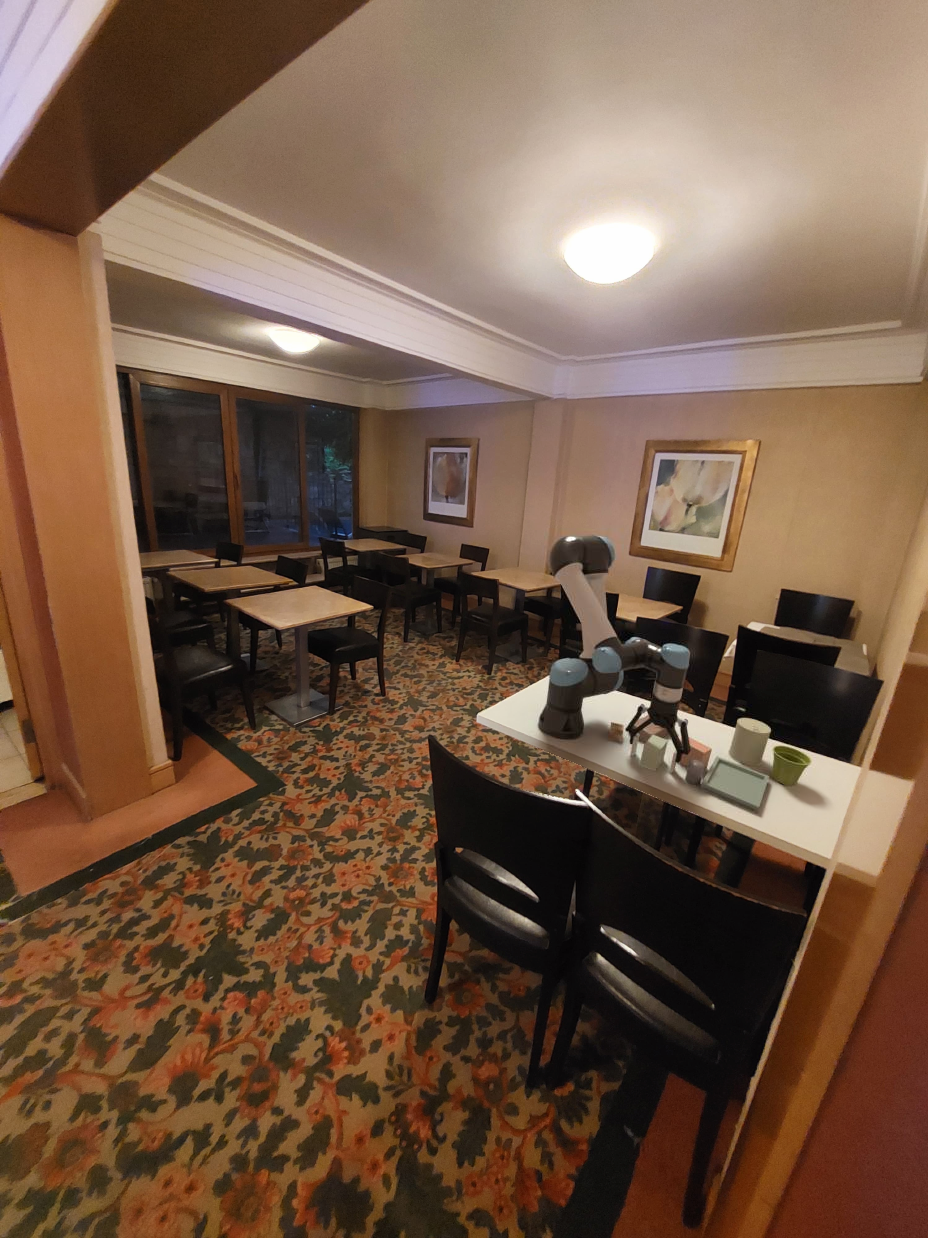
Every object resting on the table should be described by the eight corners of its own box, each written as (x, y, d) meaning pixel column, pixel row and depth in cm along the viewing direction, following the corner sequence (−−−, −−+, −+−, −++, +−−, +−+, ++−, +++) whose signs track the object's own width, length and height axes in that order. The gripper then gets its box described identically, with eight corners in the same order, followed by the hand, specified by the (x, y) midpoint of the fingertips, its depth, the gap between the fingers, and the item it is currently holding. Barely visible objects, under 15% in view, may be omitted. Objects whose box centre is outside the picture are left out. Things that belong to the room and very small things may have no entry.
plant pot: (788, 770, 141) (796, 746, 139) (810, 791, 132) (819, 765, 130) (758, 769, 141) (765, 744, 138) (778, 789, 132) (787, 763, 129)
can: (731, 761, 144) (740, 727, 141) (726, 746, 153) (735, 713, 149) (764, 769, 141) (775, 734, 138) (757, 753, 150) (767, 720, 146)
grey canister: (683, 781, 133) (687, 763, 131) (687, 775, 136) (691, 758, 134) (698, 788, 130) (703, 770, 128) (701, 781, 133) (706, 763, 131)
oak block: (608, 738, 152) (610, 727, 151) (609, 732, 156) (611, 722, 155) (621, 741, 151) (623, 730, 150) (621, 735, 155) (623, 725, 154)
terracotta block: (698, 773, 137) (704, 753, 135) (673, 759, 143) (678, 739, 141) (706, 768, 140) (712, 748, 138) (681, 755, 146) (686, 735, 144)
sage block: (639, 765, 139) (643, 745, 137) (648, 754, 145) (652, 734, 143) (654, 771, 136) (659, 751, 134) (663, 760, 142) (667, 740, 140)
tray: (700, 788, 130) (701, 782, 129) (715, 761, 143) (716, 756, 143) (757, 813, 122) (759, 807, 121) (767, 782, 135) (769, 776, 134)
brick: (649, 746, 150) (652, 733, 148) (626, 734, 156) (629, 722, 154) (674, 731, 160) (677, 719, 159) (652, 721, 166) (654, 709, 165)
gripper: (621, 687, 138) (610, 751, 145) (706, 716, 124) (689, 785, 131) (631, 680, 144) (619, 741, 150) (713, 707, 130) (696, 773, 136)
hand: (652, 762), depth 141 cm, fingers open, 11 cm apart
